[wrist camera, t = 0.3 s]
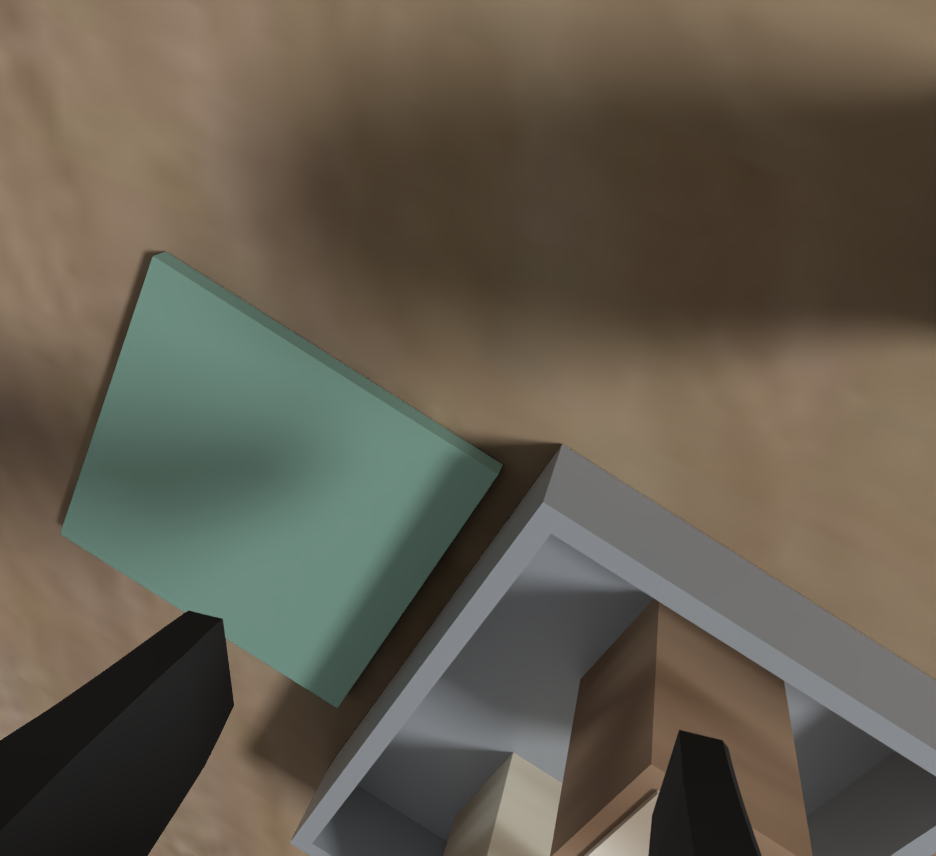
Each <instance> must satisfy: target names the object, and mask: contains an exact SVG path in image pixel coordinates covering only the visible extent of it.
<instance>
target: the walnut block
mask: <svg viewBox="0 0 936 856" xmlns="http://www.w3.org/2000/svg"><path fill="white" fill-rule="evenodd" d="M679 730H683V731H687V732H691V733H695V734H699V735H703V736H707V737H711V738H715V739H720V740H723V741H724V743H725V744H726V745H727V747H728V748H729V753H730V757H731V761H732V764H733V768H734V772H735V775H736V779H737V782H738V786H739V789H740V792H741V796H742V799H743V802H744V805H745V808H746V811H747V814H748V817H749V820H750V823H751V826H752V829H753V832H754V835H755V838H756V841H757V844H758V847H759V849H760V852H761V855H762V856H813V854H812V848H811V842H810V836H809V830H808V823H807V817H806V811H805V805H804V799H803V793H802V787H801V781H800V775H799V769H798V763H797V757H796V751H795V745H794V739H793V733H792V727H791V721H790V715H789V709H788V702H787V696H786V690H785V684H784V680H782V679H781V678H779V677H778V676H776V675H774V674H773V673H771V672H770V671H768V670H766V669H765V668H763V667H762V666H760V665H759V664H757V663H755V662H754V661H752V660H751V659H749V658H747V657H746V656H744V655H743V654H741V653H740V652H738V651H736V650H735V649H733V648H732V647H730V646H728V645H727V644H725V643H724V642H722V641H721V640H719V639H717V638H716V637H714V636H713V635H711V634H709V633H708V632H706V631H705V630H703V629H702V628H700V627H698V626H697V625H695V624H694V623H692V622H690V621H689V620H687V619H686V618H684V617H683V616H681V615H679V614H678V613H676V612H675V611H673V610H671V609H670V608H668V607H667V606H665V605H664V604H662V603H660V602H659V601H657V600H656V599H653V600H652V602H651V603H650V604H649V605H648V606H647V607H646V608H645V609H644V610H643V611H642V612H641V614H640V615H639V616H638V617H637V618H636V619H635V620H634V621H633V622H632V623H631V624H630V626H629V627H628V628H627V629H626V630H625V631H624V632H623V633H622V634H621V635H620V636H619V638H618V639H617V640H616V641H615V642H614V643H613V644H612V645H611V646H610V647H609V648H608V650H607V651H606V652H605V653H604V654H603V655H602V656H601V657H600V658H599V659H598V660H597V662H596V663H595V664H594V665H593V666H592V667H591V668H590V669H589V670H588V671H587V672H586V673H585V675H584V676H583V677H582V678H581V679H580V684H579V690H578V696H577V702H576V707H575V713H574V719H573V725H572V731H571V736H570V742H569V748H568V754H567V760H566V765H565V771H564V777H563V783H562V789H561V794H560V800H559V806H558V812H557V818H556V823H555V829H554V835H553V841H552V847H551V853H550V856H648V855H649V844H650V832H651V821H652V814H653V811H654V807H655V804H656V801H657V798H658V795H659V792H660V789H661V785H662V782H663V779H664V776H665V773H666V770H667V766H668V763H669V760H670V757H671V754H672V751H673V748H674V744H675V741H676V738H677V735H678V732H679Z"/></svg>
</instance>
